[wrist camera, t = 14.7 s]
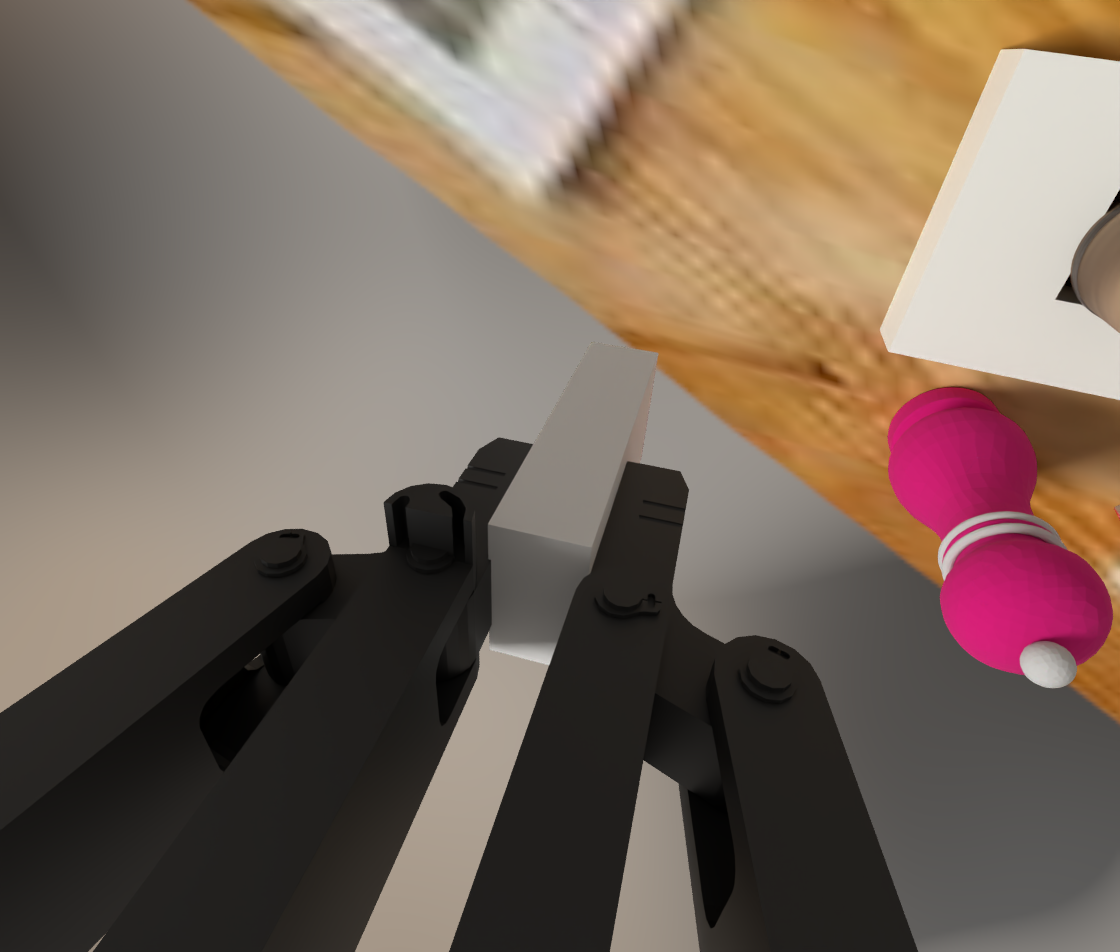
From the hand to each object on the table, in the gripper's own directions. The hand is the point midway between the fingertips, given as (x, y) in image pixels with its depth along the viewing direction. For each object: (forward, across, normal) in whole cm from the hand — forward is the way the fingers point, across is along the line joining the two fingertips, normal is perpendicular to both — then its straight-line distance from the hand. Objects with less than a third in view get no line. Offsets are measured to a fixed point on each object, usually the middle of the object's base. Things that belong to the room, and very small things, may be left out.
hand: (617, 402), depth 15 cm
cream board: (+27, +21, 0) cm, 34 cm away
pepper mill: (+27, +17, -13) cm, 34 cm away
